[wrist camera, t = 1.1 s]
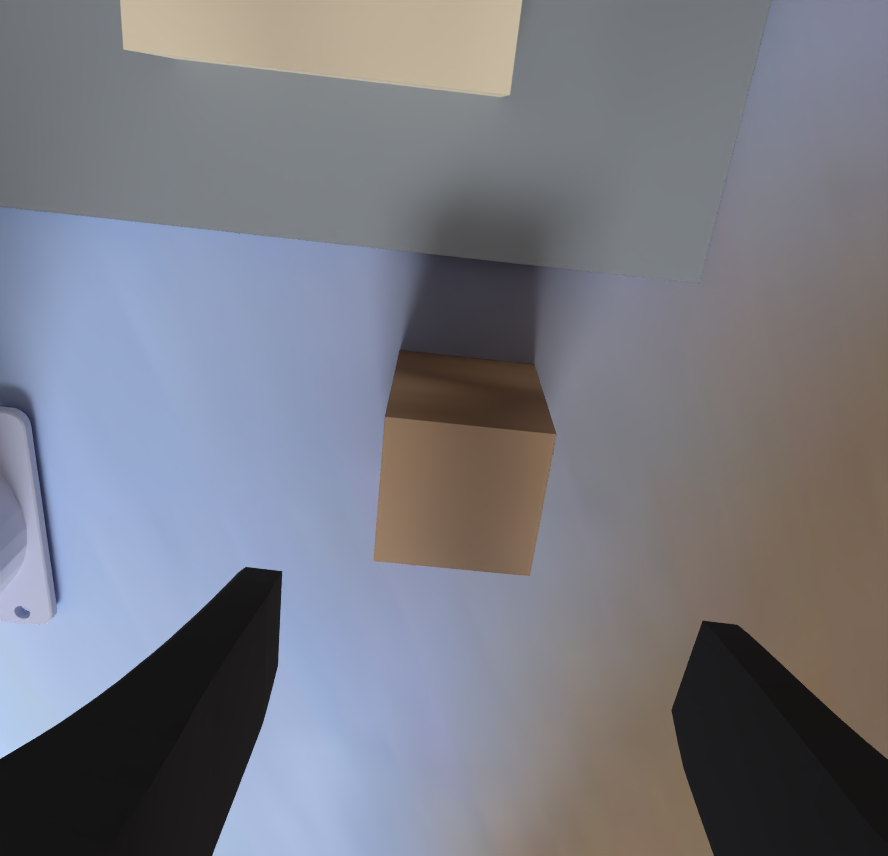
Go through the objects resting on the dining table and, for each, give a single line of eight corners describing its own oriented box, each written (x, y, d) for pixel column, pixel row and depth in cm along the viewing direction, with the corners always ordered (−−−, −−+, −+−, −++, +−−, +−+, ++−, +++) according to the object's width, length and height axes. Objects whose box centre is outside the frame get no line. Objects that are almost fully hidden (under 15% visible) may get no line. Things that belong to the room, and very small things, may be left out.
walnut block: (389, 469, 23) (373, 560, 18) (399, 349, 21) (385, 416, 16) (514, 482, 23) (529, 576, 18) (534, 363, 21) (556, 434, 17)
